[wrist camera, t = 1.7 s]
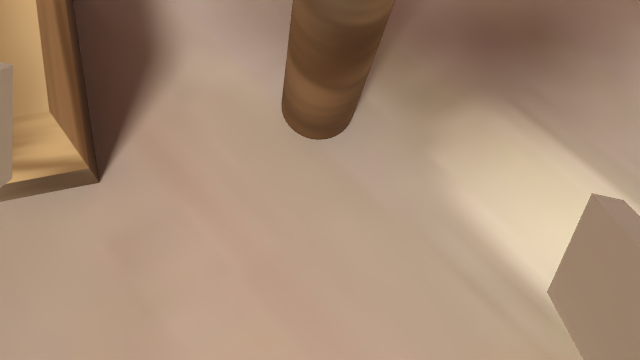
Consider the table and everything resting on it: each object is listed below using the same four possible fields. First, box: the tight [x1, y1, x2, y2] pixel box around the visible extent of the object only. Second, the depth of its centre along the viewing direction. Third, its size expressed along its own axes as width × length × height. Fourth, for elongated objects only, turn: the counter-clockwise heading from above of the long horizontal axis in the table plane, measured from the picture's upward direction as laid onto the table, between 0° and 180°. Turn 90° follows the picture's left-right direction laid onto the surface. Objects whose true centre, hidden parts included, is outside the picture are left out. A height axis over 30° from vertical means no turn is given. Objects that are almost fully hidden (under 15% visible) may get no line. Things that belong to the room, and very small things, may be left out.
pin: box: [282, 0, 395, 139], centre depth 27 cm, size 4×4×12 cm
